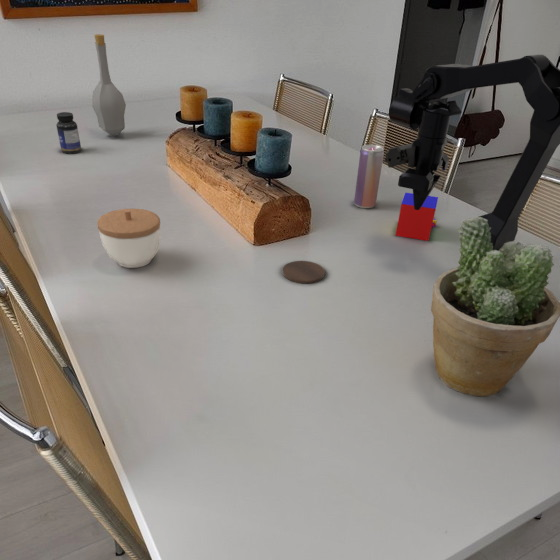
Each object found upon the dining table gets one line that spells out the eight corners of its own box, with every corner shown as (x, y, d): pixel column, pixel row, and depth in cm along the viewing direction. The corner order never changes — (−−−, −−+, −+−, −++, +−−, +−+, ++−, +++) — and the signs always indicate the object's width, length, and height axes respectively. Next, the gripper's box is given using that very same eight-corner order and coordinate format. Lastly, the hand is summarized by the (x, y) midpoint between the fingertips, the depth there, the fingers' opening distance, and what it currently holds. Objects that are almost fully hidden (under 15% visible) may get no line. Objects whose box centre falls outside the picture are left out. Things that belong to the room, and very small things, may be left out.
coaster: (314, 287, 112) (314, 284, 111) (275, 276, 115) (275, 273, 114) (331, 269, 118) (331, 267, 118) (293, 259, 121) (293, 257, 121)
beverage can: (350, 206, 147) (357, 148, 138) (358, 199, 151) (365, 142, 142) (371, 210, 145) (379, 152, 136) (378, 203, 149) (387, 147, 140)
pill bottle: (60, 149, 174) (52, 112, 168) (79, 147, 177) (73, 110, 170) (63, 154, 170) (55, 117, 163) (83, 153, 172) (76, 115, 165)
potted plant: (536, 366, 94) (595, 229, 78) (514, 429, 81) (578, 281, 65) (434, 332, 101) (469, 200, 85) (398, 385, 88) (431, 242, 72)
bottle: (137, 136, 189) (125, 35, 170) (113, 143, 181) (98, 38, 163) (113, 130, 194) (99, 31, 175) (89, 137, 186) (72, 34, 167)
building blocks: (426, 214, 145) (427, 207, 144) (442, 226, 139) (444, 219, 138) (405, 216, 143) (406, 210, 142) (420, 228, 137) (422, 222, 136)
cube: (395, 235, 133) (401, 203, 128) (399, 223, 139) (405, 192, 134) (428, 240, 132) (435, 208, 127) (431, 228, 138) (438, 197, 133)
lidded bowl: (173, 252, 121) (169, 204, 114) (147, 278, 112) (141, 227, 105) (122, 243, 124) (114, 196, 117) (92, 268, 114) (82, 218, 107)
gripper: (406, 119, 120) (394, 189, 129) (379, 139, 106) (368, 215, 116) (456, 127, 116) (440, 199, 126) (436, 148, 103) (419, 227, 112)
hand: (416, 209), depth 120 cm, fingers closed
